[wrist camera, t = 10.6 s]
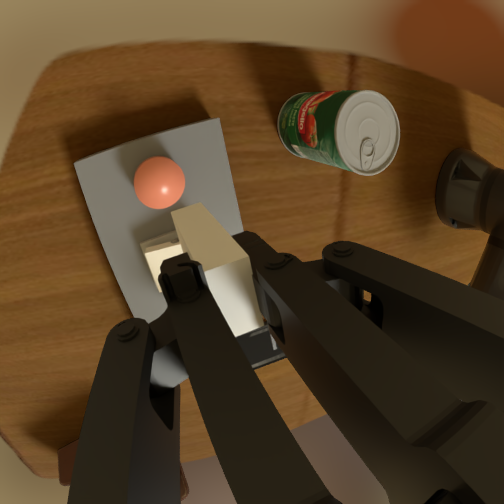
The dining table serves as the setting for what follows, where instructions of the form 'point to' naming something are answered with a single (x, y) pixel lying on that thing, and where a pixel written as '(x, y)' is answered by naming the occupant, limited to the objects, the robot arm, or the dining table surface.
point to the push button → (159, 182)
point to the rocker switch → (161, 256)
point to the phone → (259, 347)
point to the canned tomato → (341, 129)
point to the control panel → (149, 219)
